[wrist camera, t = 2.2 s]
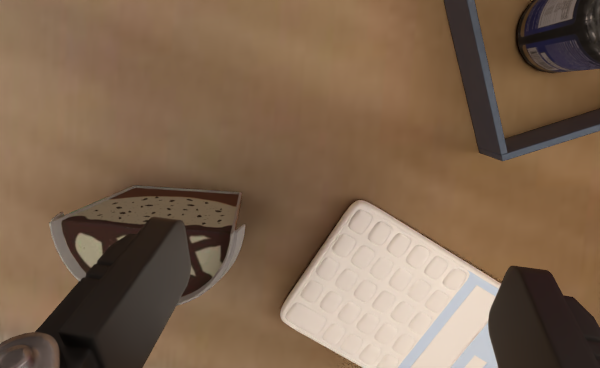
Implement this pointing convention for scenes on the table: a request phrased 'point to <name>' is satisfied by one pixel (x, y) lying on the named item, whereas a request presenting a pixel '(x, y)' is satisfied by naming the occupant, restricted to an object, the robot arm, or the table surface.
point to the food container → (137, 211)
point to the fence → (484, 99)
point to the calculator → (393, 297)
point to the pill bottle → (561, 35)
